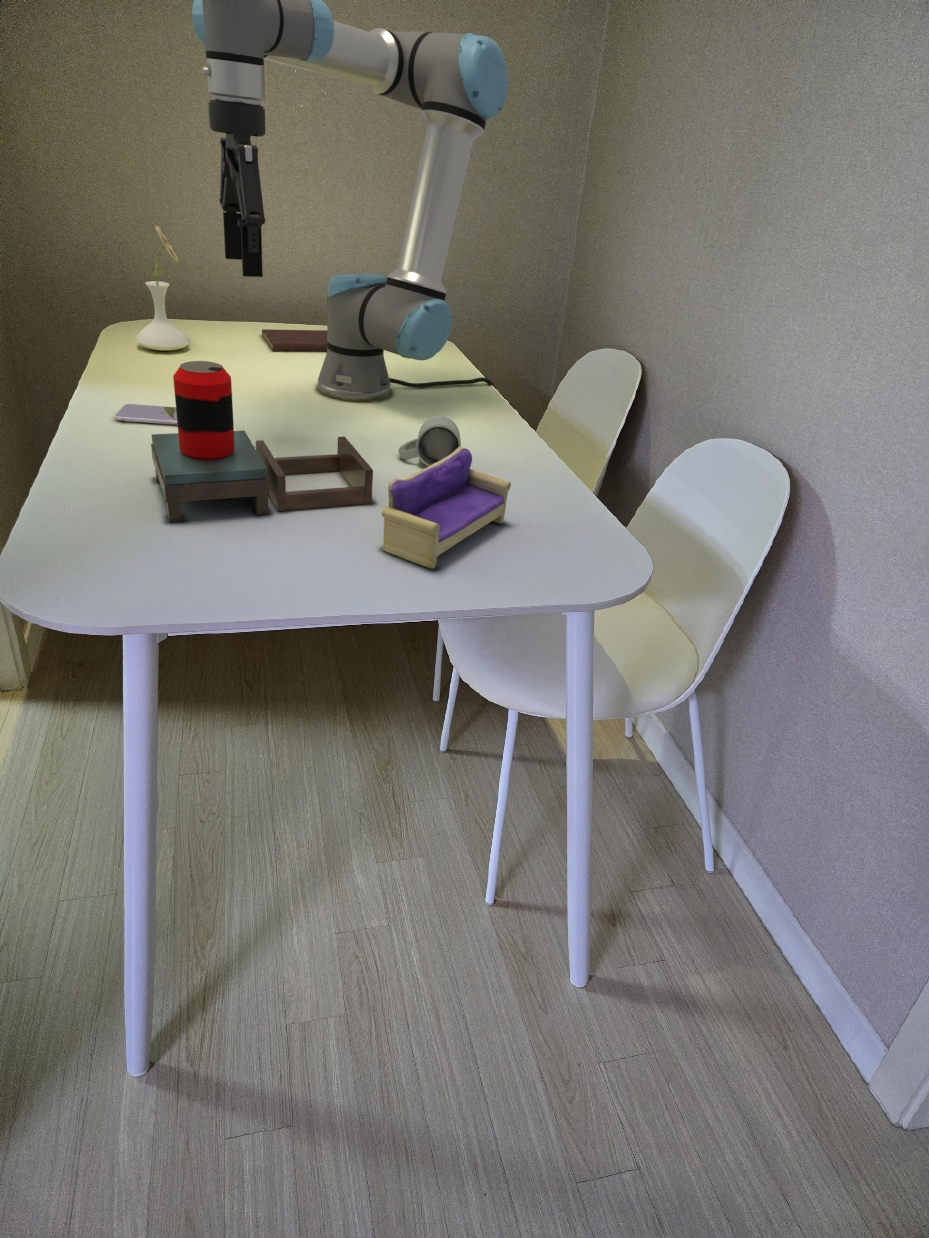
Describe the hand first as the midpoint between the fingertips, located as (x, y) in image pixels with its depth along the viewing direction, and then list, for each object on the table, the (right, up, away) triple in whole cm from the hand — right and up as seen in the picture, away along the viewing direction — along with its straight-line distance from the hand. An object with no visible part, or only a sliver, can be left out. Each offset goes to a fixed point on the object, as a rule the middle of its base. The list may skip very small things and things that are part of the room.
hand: (243, 267), depth 120 cm
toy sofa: (+31, -41, -5) cm, 52 cm away
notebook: (-6, +15, +77) cm, 79 cm away
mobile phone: (-21, -17, +23) cm, 35 cm away
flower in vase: (-35, +9, +62) cm, 71 cm away
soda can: (-4, -29, -6) cm, 30 cm away
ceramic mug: (+27, -26, +19) cm, 42 cm away
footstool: (-4, -35, -2) cm, 35 cm away
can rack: (+10, -33, +4) cm, 34 cm away
